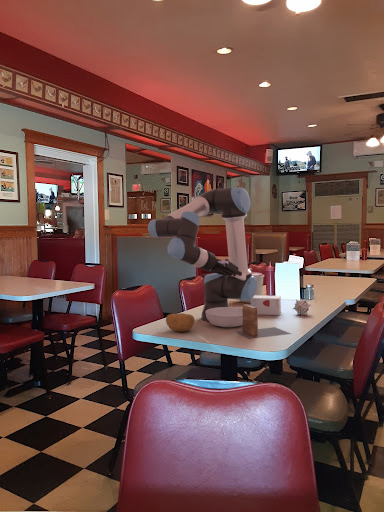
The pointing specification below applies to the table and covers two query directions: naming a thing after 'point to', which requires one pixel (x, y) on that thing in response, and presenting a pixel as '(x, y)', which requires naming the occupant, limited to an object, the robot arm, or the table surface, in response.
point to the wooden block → (250, 320)
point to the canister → (259, 284)
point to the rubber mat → (265, 333)
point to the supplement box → (267, 304)
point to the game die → (301, 307)
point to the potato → (180, 322)
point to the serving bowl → (225, 316)
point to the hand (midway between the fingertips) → (244, 277)
